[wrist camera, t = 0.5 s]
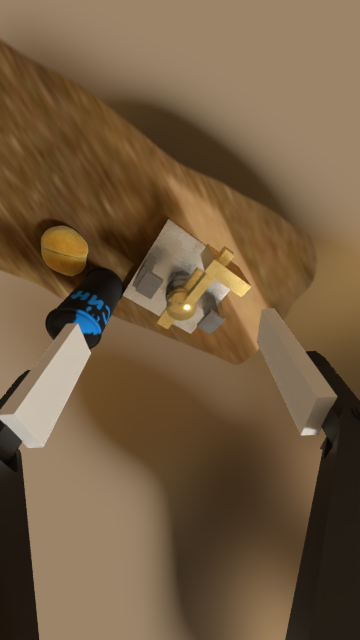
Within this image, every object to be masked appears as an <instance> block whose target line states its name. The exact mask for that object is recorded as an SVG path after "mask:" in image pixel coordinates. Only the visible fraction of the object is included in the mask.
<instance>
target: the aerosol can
mask: <svg viewBox="0 0 360 640" xmlns="http://www.w3.org/2000/svg"><path fill="white" fill-rule="evenodd" d="M123 293H124V286H123V283H122V281H121V279H120V278H119V277H118V275H116V274H115V273H114V272H112V271H110V270H108V269H103V268H98V269H94V270H92V271H90V272H89V273H88V274H87V275H86V277H85V279H84V280H83V281H82V282H81V283H80V284H79V285H78V286H77V287H76V288H75V289H74V291H73V292H72V293H71V294H70V295H69V296H68V297H67V298H66V299H65V300H64V301H63V302H62V303H61V304H60V305H59V306H58V307H57V308H56V309H54V310H52V311H51V312H50V313H49V314H48V316H47V318H46V329H47V331H48V333H49V335H50V336H51V337H52V339H53V340H55V338H56V337H57V336H58V334H59V333H60V332H61V331H62V329H63V328H64V327H65V325H66V324H70V323H78V325H79V327H80V329H81V332H82V334H83V336H84V338H85V341H86V343H87V345H88V348H89V349H92V348H93V347H95V346H96V345H97V344H98V343H99V341H100V339H101V334H102V332H103V330H104V328H105V326H106V324H107V322H108V320H109V318H110V316H111V314H112V312H113V311H114V309H115V307H116V305H117V303H118V301H119V300H120V299H121V297H122V296H123Z"/></svg>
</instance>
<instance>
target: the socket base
mask: <svg viewBox="0 0 360 640" xmlns="http://www.w3.org/2000/svg"><path fill="white" fill-rule="evenodd" d="M205 247H206V245H204V244H203V243H202V242H200V241H199V240H197V239H196V238H195V237H193V236H192V235H191V234H189V233H188V232H187V231H185V230H184V229H183V228H181V227H180V226H179V225H177V224H176V223H175V222H173V221H172V220H171V219H168V220H167V222H166V224H165V225H164V227H163V229H162V230H161V232H160V234H159V235H158V237H157V239H156V240H155V242H154V244H153V245H152V247H151V248H150V250H149V252H148V253H147V255H146V257H145V258H144V260H143V262H142V263H141V265H140V267H139V268H138V270H137V272H136V273H135V275H134V277H133V278H132V280H131V281H130V283H129V285H128V286H127V288H126V290H125V291H124V293H123V296H125V297H126V298H128V299H130V300H132V301H134V302H135V303H137V304H139V305H141V306H142V307H144V308H146V309H148V310H149V311H151V312H153V313H155V314H157V315H158V316H160V314H161V313H162V312H163V310H164V309H165V308H166V304H167V296H168V292H169V291H170V289H171V288H173V287H174V286H177V285H183V284H184V283H185V282H186V280H187V279H188V278H189V276H190V275H191V274H192V272H193V271H194V270H195V268H196V267H199V268H200V269H202V270H203V271H204V267H203V263H202V259H201V256H200V254H201V252H202V251H203V250H204V248H205ZM229 291H230V289H229V288H227V287H226V286H224V285H223V284H222V283H220V282H219V281H217V280H216V279H215V280H214V281H213V282H212V284H211V285H210V286H209V287H208V288H207V290H206V291H205V292H204V293H203V294H202V296H201V297H200V298H199V299H198V300H197V302H196V306H197V309H196V313H195V314H194V316H193V317H191V318H190V319H188V320H184V321H178V320H175V321H174V322H173V323H172V324H174V325H176V326H178V327H180V328H181V329H183V330H185V331H187V332H188V333H190V334H191V333H192V332H193V331H194V329H195V328H196V327H198V328H200V329H202V330H203V331H205V332H207V333H209V334H211V333H213V332H214V331H215V330H216V329H217V328H218V327H219V326H220V325H221V324H222V323H223V322H224V321H225V320H226V317H225V314H224V311H223V307H222V304H221V300H222V299H223V298H224V296H225V295H226V294H227V293H228V292H229Z"/></svg>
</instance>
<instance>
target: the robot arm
mask: <svg viewBox="0 0 360 640" xmlns="http://www.w3.org/2000/svg"><path fill="white" fill-rule="evenodd" d="M257 343H258V345H259V347H260V349H261V352H262V353H263V356H264V358H265V360H266V362H267V364H268V366H269V369H270V371H271V373H272V375H273V377H274V379H275V381H276V383H277V386H278V388H279V390H280V392H281V394H282V396H283V398H284V401H285V403H286V405H287V407H288V409H289V411H290V413H291V416H292V418H293V420H294V422H295V424H296V426H297V428H298V430H299V432H300V434H301V435H318V433H319V431H320V430H321V428H322V429H323V430H324V432H325V434H326V436H327V437H326V438H325V440H324V442H323V444H322V446H321V447H320V449H322V450H323V451H322V456H321V461H320V467H319V471H318V476H317V482H316V487H315V492H314V497H313V502H312V507H311V512H310V517H309V523H308V527H307V533H306V538H305V542H304V548H303V553H302V558H301V563H300V568H299V573H298V578H297V583H296V588H295V593H294V598H293V604H292V608H291V613H290V618H289V623H288V629H287V634H286V639H285V640H360V400H359V399H358V398H357V397H356V396H355V395H354V393H353V392H352V391H351V390H350V388H349V387H348V386H347V385H346V383H345V382H344V381H343V380H342V378H341V377H340V376H339V375H338V374H337V373H336V371H335V370H334V368H333V367H331V365H330V363H329V362H328V361H327V360H326V358H325V357H323V356H322V355H320V354H319V353H317V352H316V351H307V352H305V351H304V349H303V348H302V347H301V345H300V344H299V342H298V341H297V340H296V338H295V337H294V336H293V334H292V333H291V331H290V330H289V329H288V327H287V326H286V324H285V323H284V321H283V320H282V319H281V317H280V316H279V315H278V313H277V312H276V310H275V309H274V308H269V309H262V311H261V318H260V325H259V332H258V339H257ZM90 354H91V353H90V350H89V348H88V345H87V343H86V341H85V338H84V336H83V334H82V332H81V329H80V327H79V325H78V323H70V324H66V325H65V327H64V328H63V329H62V331H61V332H60V333H59V334H58V336H57V337H56V338H55V340H54V341H53V342H52V343H51V345H50V346H49V347H48V349H47V350H46V351H45V353H44V354H43V355H42V356H41V358H40V359H39V360H38V362H37V363H36V364H35V366H34V367H33V368H32V369H31V370H27V371H26V372H24V373H23V374H22V375H21V376H19V377H18V378H17V380H16V381H15V382H14V383H13V384H12V387H10V388H9V389H8V391H7V392H6V394H4V396H3V397H2V398H1V399H0V640H39V632H38V622H37V612H36V602H35V591H34V581H33V570H32V560H31V550H30V540H29V529H28V519H27V509H26V499H25V488H24V478H23V468H22V459H21V452H20V450H19V449H18V448H19V446H20V445H21V443H22V442H23V443H24V444H25V445H26V446H27V447H28V448H35V447H44V445H45V443H46V441H47V439H48V437H49V435H50V433H51V431H52V429H53V427H54V425H55V423H56V421H57V419H58V417H59V415H60V413H61V411H62V409H63V407H64V406H65V403H66V402H67V400H68V398H69V396H70V394H71V391H72V390H73V388H74V386H75V384H76V382H77V380H78V378H79V376H80V374H81V372H82V370H83V368H84V366H85V364H86V362H87V360H88V358H89V356H90Z"/></svg>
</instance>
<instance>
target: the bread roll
mask: <svg viewBox="0 0 360 640" xmlns="http://www.w3.org/2000/svg"><path fill="white" fill-rule="evenodd" d="M41 253H42V257H43V260H44V262H45V263H46V264H47V266H49V267H50V268H51V269H53V270H55V271H57V272H59V273H62V274H65V275H68V276H74V275H76V274H79V273H81V272H82V271H83V270H84V268H85V266H86V257H87V254H88V245H87V243H86V242H85V240H84V239H83V238H82V237H81V236H80V234H78V233H77V232H76V231H75V230H74V229H72V228H70V227H67V226H56V227H51V228H49V229H48V230H46V231H45V233H44V234H43V235H42V238H41Z"/></svg>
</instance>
